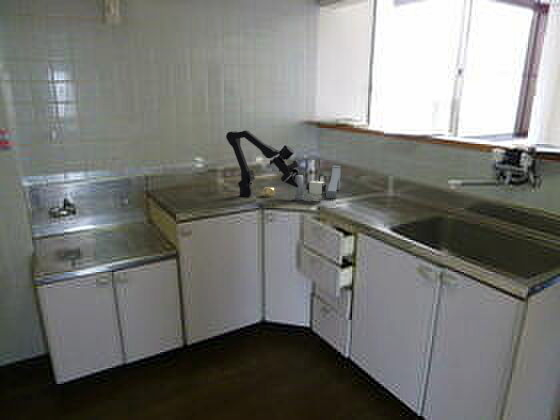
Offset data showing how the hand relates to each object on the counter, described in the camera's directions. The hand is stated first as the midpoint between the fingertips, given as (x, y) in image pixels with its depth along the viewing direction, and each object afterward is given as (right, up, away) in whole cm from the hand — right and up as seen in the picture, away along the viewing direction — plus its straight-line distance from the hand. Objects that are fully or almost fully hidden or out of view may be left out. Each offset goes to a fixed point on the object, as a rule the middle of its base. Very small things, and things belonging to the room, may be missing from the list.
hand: (300, 185), depth 220 cm
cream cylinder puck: (-18, -6, +12) cm, 22 cm away
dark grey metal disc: (0, -8, +2) cm, 8 cm away
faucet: (+22, -4, +19) cm, 29 cm away
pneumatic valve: (+10, -9, 0) cm, 13 cm away
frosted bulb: (-1, -7, +2) cm, 7 cm away
